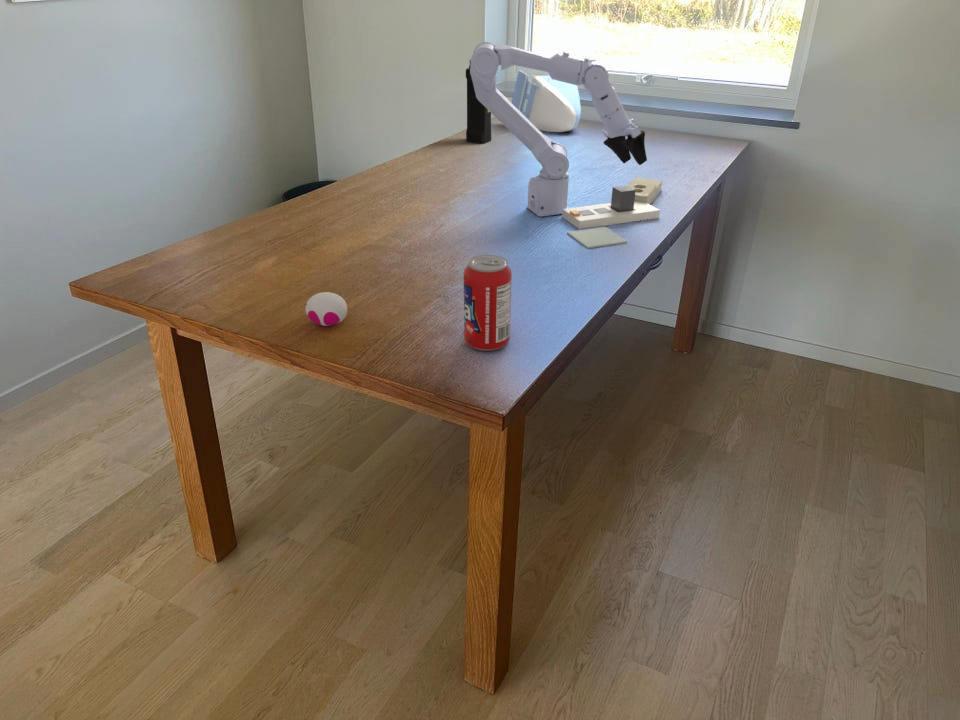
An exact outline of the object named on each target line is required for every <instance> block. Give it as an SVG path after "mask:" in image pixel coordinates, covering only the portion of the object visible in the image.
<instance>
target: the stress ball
mask: <svg viewBox="0 0 960 720" xmlns="http://www.w3.org/2000/svg"><path fill="white" fill-rule="evenodd" d="M305 313H306V315H307V318H308V319H309V320H310V321H311V322H313V324H317V325H319V326H323V328H324V327H325V326H326V327H327V326H328V327H329V326H335V325H337V324H339V323H341V322H342V321H343V320H345V318H346V316H347V315H348V305H347V302H346V301H345V299H344V298H343V297H342V296H340V295H339V294H337V293H333V292H331V291H325V292H319V293H316V294H314V295H312V296H311V297H310V298H309V299H308V300H307V301H306V303H305ZM326 327H325V328H326Z"/></svg>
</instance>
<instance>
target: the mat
mask: <svg viewBox="0 0 960 720" xmlns="http://www.w3.org/2000/svg"><path fill="white" fill-rule="evenodd" d="M566 233H567V235H568V236H570V237H572V238H573V240H575V241H576V242H578V243H580V245H583V246H584V247H585V248H586V249H587V250H589V249H594V248H601V247H607V246H613V245H620V244H626V243H628V240H627V239H625V238H623V237H622V236H620V235H618V234H617V233H616V232H614V231H613V230H611V229H610V228H608V227H606V226H598V227H591V228H584V229H578V230H571V231H570V230H569V231H566Z"/></svg>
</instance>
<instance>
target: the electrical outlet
mask: <svg viewBox="0 0 960 720" xmlns="http://www.w3.org/2000/svg"><path fill="white" fill-rule="evenodd" d="M662 185H663V180H661V179H655V178H654V179H653V178H646V177H645V178H644V177H638V176H637V177H634V179H632V181H630V182H628V184H627V186H629V187H631V188H633V189H635V190H636V191H635V200H634V201H639V202H647V203H648V204H651V205H652V204H653V202H654V201H655V199H656V198H657V196H658V195H659V194H660V192H661V191H662Z"/></svg>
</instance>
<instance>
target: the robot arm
mask: <svg viewBox="0 0 960 720" xmlns="http://www.w3.org/2000/svg"><path fill="white" fill-rule="evenodd" d="M470 61H471V65H470V64H469V66H470V74H471V77H472V81H473V85H474V90H475V94H476V97H477V99H478V100H479V101H480V102H481V103H482V104H483V105H484V106H485V107H486V108H487V109H488V110H489V111H490V112H491V115H493V116H494V117H495V118H496V119H497V120H498V121H499V122H500V124H501V123H502V125H503V126H504V127H505V128H506V129H508V130H509V132H511V134H512V135H514V137H515V138H517V139H518V141H520V142H521V143H522V144H523V145H524V146H525V147H526V148H527V149H528V150H529V151H530V153H532V155H533V156H534V157H535V159H536V161H537V162H538V163H539V164H540V165H541V167H542V168H541V169H540V171H539V174H537V176H534V177H533V176H532V177H530V178H529V181H528V188H527V204H526V206H525V207H526V209H528V210H530V211H531V212H532V213H533V214H535V215H536V216H538V217H548V216H550V217H551V216H554V215H555V216H557V215H562V211H563V209H567V208H570V207H569V206H568V196H569V195H568V194H569V182H570V181H569V178H570V172H568V170H569V168H570V161H569V158H568V153H567V150H566V148H565V146H563V145H562V144H561V143H560V142H559V143H558V142H554V140H552V139H551V138H550V137H549V136H547V135H545V134H544V133H543V132H542V131H541V130H538V129H537V128H536V127H535V126H534V125H533V124H532V123H531V122H530V121H529V120H528V119H527V118H526V117H525V116H524V113H523V112H522V113H521V112H520V111H519V110H518V109H517V108H516V107H515V106H514V105H513V104H512V101H510V100H509V99H508V98H507V97H506V96H505V95H504V94H503V93H502V92H501V91H500V90H499V89H498V87H497V74H498V70H499V67H501V71H503V70H506V69H508V68H510V67H513V66H516V67H521V68H526V69H530V70H537V71H542V72H545V73H547V72H548V73H547V74H548V75H549V76H550V77H551V79H553V80H557V81H561V82H565V83H569V84H573V85H577V86H580V85H582V86H583V88H584V89H586V90H587V92H588V93H589V95H590V97H591V101H592V104H593V106H594V109H595V110H596V113H597V114H598V117H599V118H600V120H601V123H602V124H603V127H604V128H603V129H601V132H602V134H603V136H604V137H605V138H607V139H604V141H602V142H603V144H604V145H605V146H607V147H608V148H609V149H610V150H612V152H613V153H614V154H615V155H616V157H617V158H618V159H619V160H620V161H621V162H622V164H626V163H628V161H630V160H631V159H632V157H633V158H634V161H635V162H636V163H637V165H639V166H642V164H644V163H645V162H647V161H648V158H647V153H646V148H645V147H646V145H645V144H646V143H645V136H646V132H645V130H640V127H639V126H638V125H635V124H634V123H635V119H634V118H629V117H628V115H627V113H626V111H625V108H624V106H623V103H622V102H621V99H620V97H619V96H618V93H617V91H616V89H615V87H614V86H612V85H613V83H612V81H611V80H610V78H609V72H608V71H607V70H606V68H605V66H604V65H603V63H601V62H600V61H597V60H596V59H590V58H588V57H584V59H583V58H579V57H577V56H576V57H575V56H571V55H570V53H569V52H568V51H563V52H562V53H560V52H559V53H556V54H554V55H553V56H546V55H544V54H540V53H537V52H533V51H530V50H526V49H523V48H519V47H515V46H513V45H508V44H503V43H495V44H494V43H492V42H489V41H488V42H487V41H484V42H483V41H482V42H481V43H479V44H477V46H475V48H474V50H473V52H472V56H471V58H470ZM626 137H627V138H626Z"/></svg>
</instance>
